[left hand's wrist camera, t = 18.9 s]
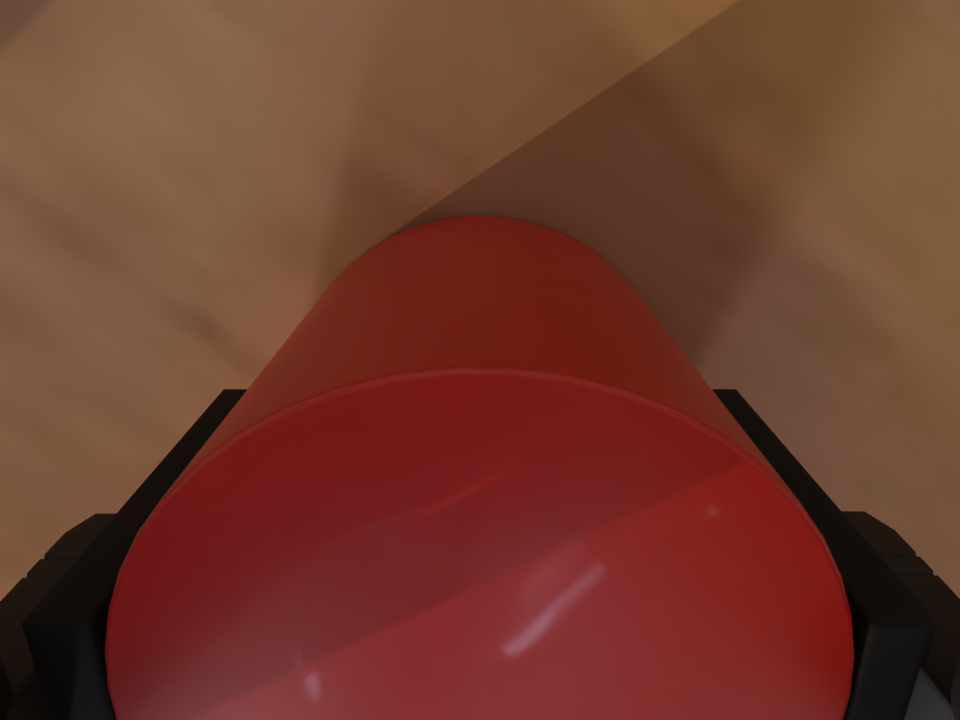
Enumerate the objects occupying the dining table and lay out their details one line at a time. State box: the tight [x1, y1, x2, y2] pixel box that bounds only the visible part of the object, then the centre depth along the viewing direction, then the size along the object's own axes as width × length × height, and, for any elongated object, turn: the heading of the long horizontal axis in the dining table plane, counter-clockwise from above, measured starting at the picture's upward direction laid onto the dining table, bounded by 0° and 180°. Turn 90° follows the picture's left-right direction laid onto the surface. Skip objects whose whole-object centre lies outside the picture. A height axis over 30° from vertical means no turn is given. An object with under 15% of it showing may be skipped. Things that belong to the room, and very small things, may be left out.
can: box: [105, 216, 854, 720], centre depth 12 cm, size 9×9×9 cm
